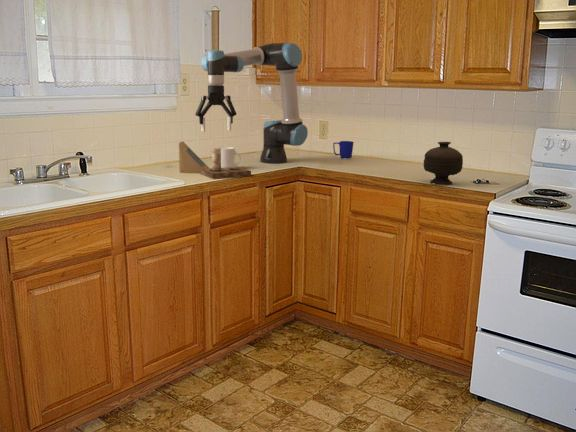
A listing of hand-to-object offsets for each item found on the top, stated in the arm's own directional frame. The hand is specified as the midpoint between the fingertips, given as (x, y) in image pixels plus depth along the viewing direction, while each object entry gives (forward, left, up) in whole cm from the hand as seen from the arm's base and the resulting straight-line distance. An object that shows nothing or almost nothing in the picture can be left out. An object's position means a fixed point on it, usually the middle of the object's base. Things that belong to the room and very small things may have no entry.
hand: (216, 131), depth 271 cm
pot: (-88, +61, -22) cm, 109 cm away
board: (-5, 0, -21) cm, 22 cm away
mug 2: (-95, -26, -22) cm, 101 cm away
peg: (0, 0, -21) cm, 21 cm away
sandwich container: (+4, -14, -22) cm, 27 cm away
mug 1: (-15, -17, -22) cm, 31 cm away
